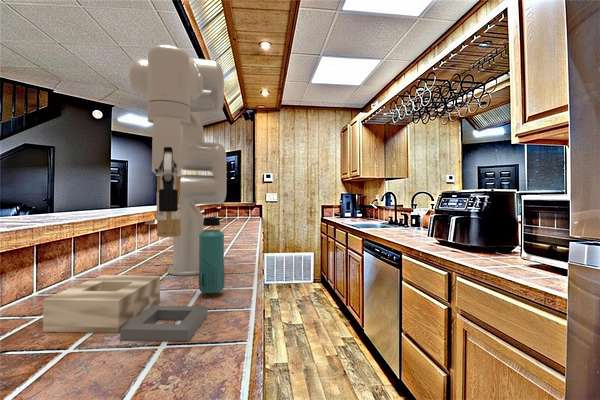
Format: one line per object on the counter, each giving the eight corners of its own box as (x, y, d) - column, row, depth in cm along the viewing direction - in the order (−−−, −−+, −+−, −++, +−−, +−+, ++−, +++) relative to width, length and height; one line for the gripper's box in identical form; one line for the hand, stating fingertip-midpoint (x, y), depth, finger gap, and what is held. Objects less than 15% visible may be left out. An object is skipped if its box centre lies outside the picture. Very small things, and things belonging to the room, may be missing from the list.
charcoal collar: (151, 314, 70) (151, 305, 70) (207, 315, 70) (207, 306, 70) (120, 340, 58) (120, 329, 58) (188, 341, 58) (188, 330, 58)
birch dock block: (101, 299, 79) (101, 274, 79) (159, 300, 79) (159, 275, 79) (43, 331, 61) (43, 299, 61) (118, 332, 61) (118, 300, 61)
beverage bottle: (229, 292, 86) (230, 216, 86) (214, 300, 80) (215, 218, 79) (208, 290, 88) (208, 215, 88) (192, 297, 82) (192, 217, 82)
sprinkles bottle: (183, 236, 63) (184, 166, 63) (158, 238, 61) (158, 165, 60) (178, 233, 67) (178, 167, 67) (153, 235, 65) (154, 166, 64)
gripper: (151, 121, 70) (151, 207, 70) (142, 102, 54) (142, 214, 55) (188, 124, 72) (188, 207, 73) (191, 107, 57) (190, 213, 57)
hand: (168, 209), depth 64 cm, fingers closed on sprinkles bottle, 4 cm apart
